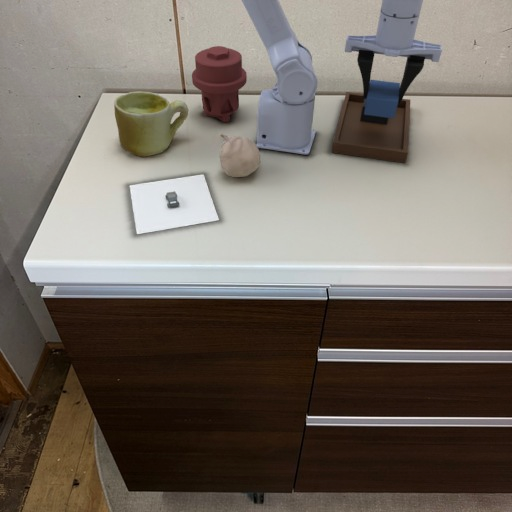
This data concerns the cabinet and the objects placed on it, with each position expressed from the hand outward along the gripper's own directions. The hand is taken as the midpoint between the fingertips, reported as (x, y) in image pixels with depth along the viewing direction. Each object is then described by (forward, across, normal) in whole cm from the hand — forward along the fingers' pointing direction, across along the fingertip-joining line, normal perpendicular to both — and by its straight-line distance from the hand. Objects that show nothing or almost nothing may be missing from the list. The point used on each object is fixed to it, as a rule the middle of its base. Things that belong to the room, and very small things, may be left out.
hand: (382, 98), depth 80 cm
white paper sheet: (+8, -28, -26) cm, 39 cm away
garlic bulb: (+8, -20, -16) cm, 27 cm away
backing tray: (+8, 0, +4) cm, 9 cm away
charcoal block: (+8, 0, +9) cm, 12 cm away
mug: (+8, -37, -11) cm, 40 cm away
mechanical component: (+8, -30, +2) cm, 31 cm away
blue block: (+2, 0, 0) cm, 2 cm away
